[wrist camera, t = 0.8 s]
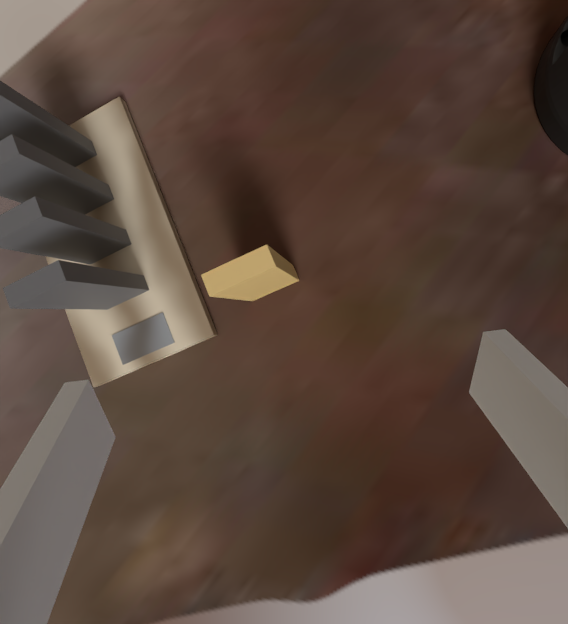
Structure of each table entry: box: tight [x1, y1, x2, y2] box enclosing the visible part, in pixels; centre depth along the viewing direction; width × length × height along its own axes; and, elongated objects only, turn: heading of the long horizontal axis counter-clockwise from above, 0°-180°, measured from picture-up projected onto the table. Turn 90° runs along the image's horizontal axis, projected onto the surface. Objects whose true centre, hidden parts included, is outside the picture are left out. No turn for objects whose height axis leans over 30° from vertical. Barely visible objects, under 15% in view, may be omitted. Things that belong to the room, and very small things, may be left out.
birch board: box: [46, 97, 218, 387], centre depth 39 cm, size 14×26×1 cm, turn 23°
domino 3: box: [0, 196, 131, 265], centre depth 33 cm, size 5×2×11 cm, turn 113°
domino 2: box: [0, 134, 114, 214], centre depth 33 cm, size 5×2×11 cm, turn 113°
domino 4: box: [3, 260, 149, 310], centre depth 32 cm, size 5×2×11 cm, turn 113°
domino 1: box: [0, 81, 97, 167], centre depth 33 cm, size 5×2×11 cm, turn 113°
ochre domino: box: [201, 245, 299, 301], centre depth 31 cm, size 5×2×11 cm, turn 113°
